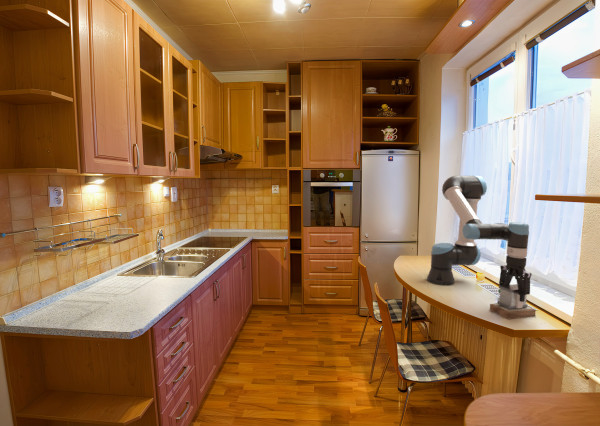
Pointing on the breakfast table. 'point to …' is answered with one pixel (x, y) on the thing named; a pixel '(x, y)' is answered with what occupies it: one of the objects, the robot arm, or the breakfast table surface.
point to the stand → (512, 311)
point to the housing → (509, 296)
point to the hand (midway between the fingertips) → (512, 304)
